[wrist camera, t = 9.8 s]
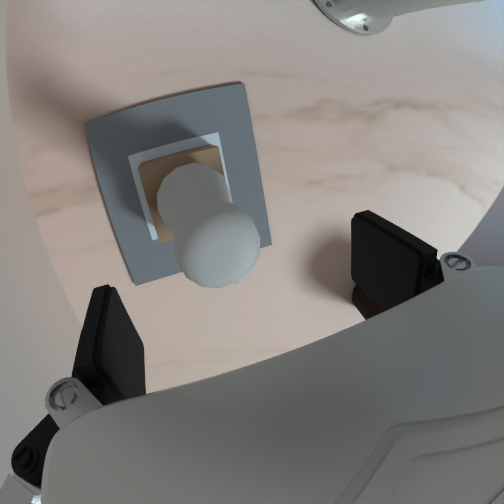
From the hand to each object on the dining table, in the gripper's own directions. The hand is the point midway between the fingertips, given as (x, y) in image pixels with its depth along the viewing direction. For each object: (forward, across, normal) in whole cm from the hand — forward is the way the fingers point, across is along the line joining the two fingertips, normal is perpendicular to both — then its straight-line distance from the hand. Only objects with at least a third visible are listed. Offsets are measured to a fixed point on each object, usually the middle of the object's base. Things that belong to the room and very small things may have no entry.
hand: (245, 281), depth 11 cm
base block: (+20, +1, +1) cm, 20 cm away
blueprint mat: (+20, +1, +1) cm, 21 cm away
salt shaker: (+16, +1, +1) cm, 16 cm away
